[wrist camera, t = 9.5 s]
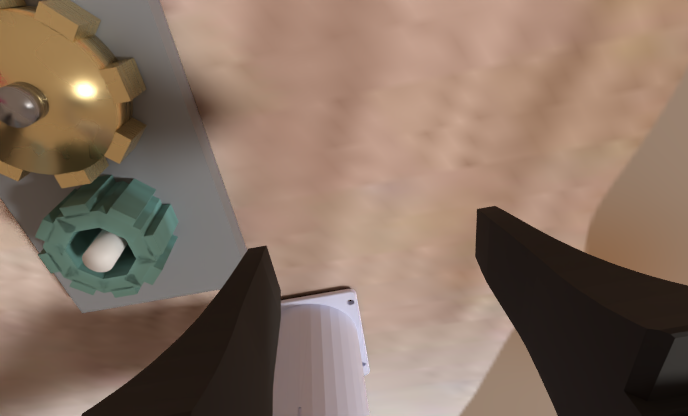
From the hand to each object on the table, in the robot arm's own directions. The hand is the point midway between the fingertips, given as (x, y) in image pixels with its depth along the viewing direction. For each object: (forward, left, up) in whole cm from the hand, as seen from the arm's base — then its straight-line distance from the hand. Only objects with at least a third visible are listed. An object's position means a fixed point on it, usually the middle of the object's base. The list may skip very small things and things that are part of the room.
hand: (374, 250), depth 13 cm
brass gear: (+5, +13, -9) cm, 17 cm away
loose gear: (-2, +13, -9) cm, 16 cm away
